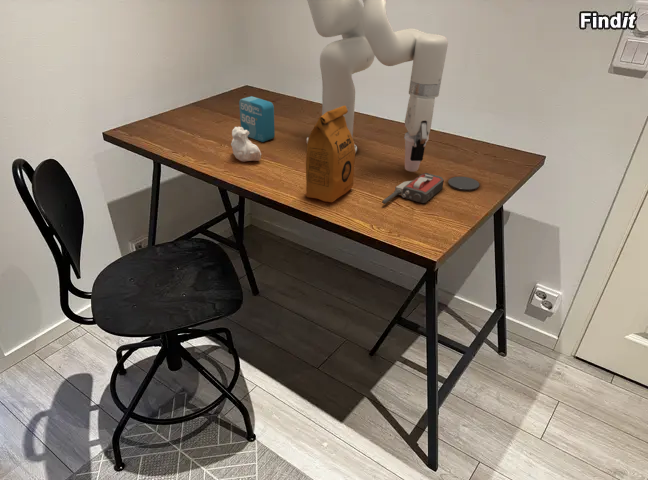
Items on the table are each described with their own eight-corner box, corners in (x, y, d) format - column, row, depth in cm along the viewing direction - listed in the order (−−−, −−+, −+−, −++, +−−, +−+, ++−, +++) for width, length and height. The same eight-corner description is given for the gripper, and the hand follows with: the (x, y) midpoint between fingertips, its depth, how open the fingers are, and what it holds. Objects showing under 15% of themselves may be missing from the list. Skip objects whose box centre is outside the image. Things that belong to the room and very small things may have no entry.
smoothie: (423, 174, 140) (432, 124, 132) (399, 172, 141) (406, 122, 133) (422, 164, 145) (431, 115, 137) (399, 162, 146) (407, 114, 138)
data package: (240, 134, 173) (238, 98, 166) (251, 131, 176) (249, 95, 169) (264, 143, 166) (263, 105, 159) (275, 139, 168) (274, 102, 162)
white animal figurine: (233, 160, 160) (212, 138, 151) (247, 141, 161) (227, 118, 152) (257, 172, 153) (237, 149, 144) (272, 151, 153) (253, 128, 144)
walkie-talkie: (415, 179, 142) (379, 206, 129) (417, 163, 139) (380, 190, 126) (445, 187, 137) (411, 216, 124) (448, 171, 135) (413, 199, 122)
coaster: (452, 191, 135) (452, 189, 135) (444, 178, 142) (444, 176, 141) (482, 191, 135) (483, 189, 135) (473, 178, 142) (474, 176, 141)
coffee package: (359, 191, 136) (365, 107, 124) (331, 208, 129) (334, 120, 116) (329, 181, 142) (331, 100, 129) (300, 196, 134) (300, 112, 121)
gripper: (403, 78, 137) (394, 142, 148) (416, 98, 123) (405, 168, 134) (431, 78, 137) (420, 143, 148) (447, 99, 123) (434, 168, 134)
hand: (413, 154), depth 141 cm, fingers closed on smoothie, 6 cm apart
